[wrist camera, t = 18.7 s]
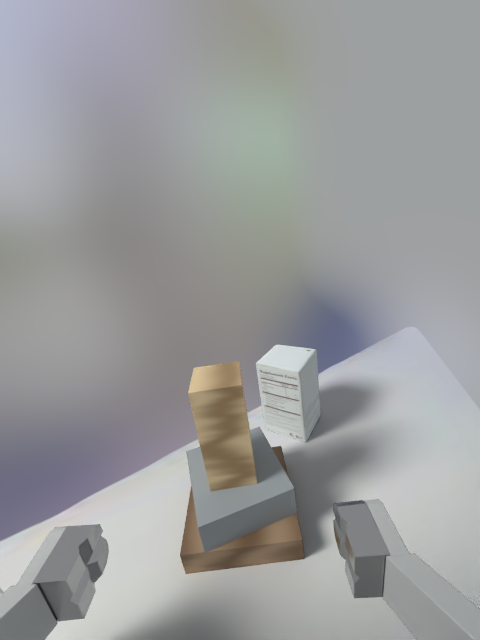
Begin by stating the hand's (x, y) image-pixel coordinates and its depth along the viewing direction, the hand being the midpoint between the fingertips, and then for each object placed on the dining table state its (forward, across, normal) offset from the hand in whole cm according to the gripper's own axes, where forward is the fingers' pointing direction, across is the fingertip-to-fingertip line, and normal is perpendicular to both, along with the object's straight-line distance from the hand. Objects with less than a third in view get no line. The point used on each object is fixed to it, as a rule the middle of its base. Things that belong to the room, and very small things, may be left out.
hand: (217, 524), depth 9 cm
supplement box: (+31, -7, +22) cm, 39 cm away
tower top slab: (+18, +2, +19) cm, 26 cm away
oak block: (+17, +2, +16) cm, 24 cm away
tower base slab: (+17, +1, +23) cm, 29 cm away
